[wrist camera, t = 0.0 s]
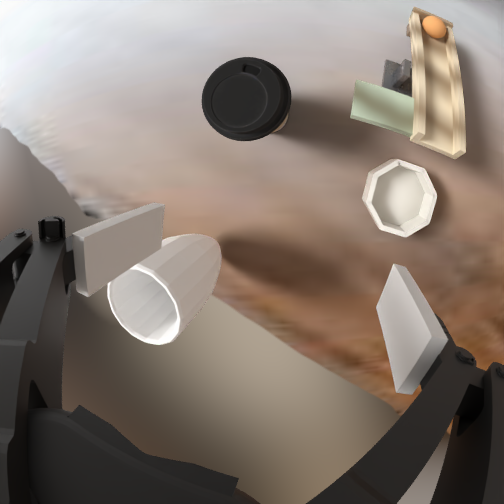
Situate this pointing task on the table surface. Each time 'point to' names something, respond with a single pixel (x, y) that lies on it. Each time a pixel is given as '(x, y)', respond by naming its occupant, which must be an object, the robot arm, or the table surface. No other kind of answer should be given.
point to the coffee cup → (246, 99)
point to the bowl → (399, 197)
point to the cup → (166, 288)
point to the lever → (421, 94)
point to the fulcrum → (398, 75)
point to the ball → (434, 26)
